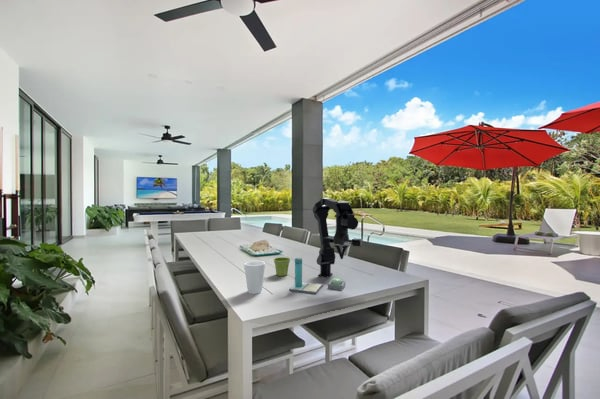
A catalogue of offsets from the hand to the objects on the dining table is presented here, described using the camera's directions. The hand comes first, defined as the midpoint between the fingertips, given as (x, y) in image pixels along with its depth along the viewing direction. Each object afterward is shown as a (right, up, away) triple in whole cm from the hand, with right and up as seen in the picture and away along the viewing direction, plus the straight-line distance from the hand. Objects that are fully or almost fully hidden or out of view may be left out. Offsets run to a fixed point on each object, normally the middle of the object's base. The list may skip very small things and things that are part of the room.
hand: (341, 259), depth 139 cm
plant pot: (-30, -13, +19) cm, 38 cm away
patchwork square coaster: (-17, -13, -4) cm, 22 cm away
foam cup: (-41, -13, -8) cm, 44 cm away
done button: (-3, -12, -2) cm, 13 cm away
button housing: (-3, -13, -2) cm, 13 cm away
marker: (-21, -12, -4) cm, 25 cm away
